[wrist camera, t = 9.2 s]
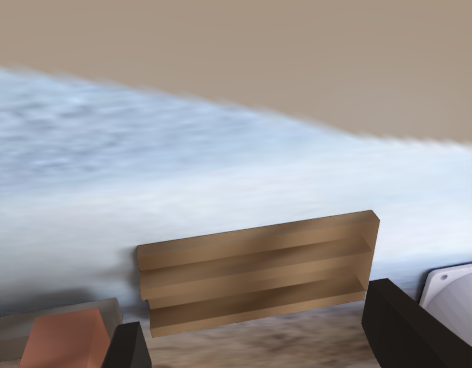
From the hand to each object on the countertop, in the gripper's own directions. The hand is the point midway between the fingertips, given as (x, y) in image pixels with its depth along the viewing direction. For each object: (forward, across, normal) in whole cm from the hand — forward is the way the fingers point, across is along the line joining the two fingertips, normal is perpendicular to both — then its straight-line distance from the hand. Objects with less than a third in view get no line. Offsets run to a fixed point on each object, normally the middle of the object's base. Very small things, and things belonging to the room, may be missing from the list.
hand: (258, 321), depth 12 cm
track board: (+9, -2, +7) cm, 12 cm away
